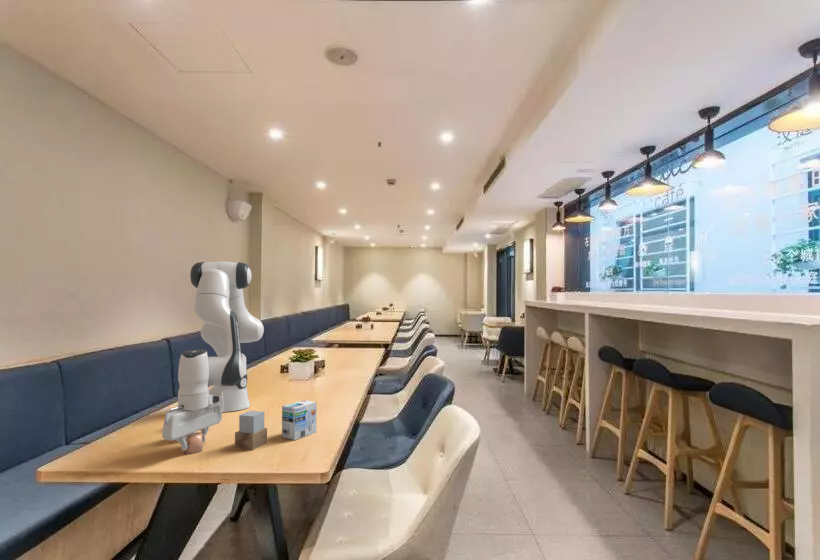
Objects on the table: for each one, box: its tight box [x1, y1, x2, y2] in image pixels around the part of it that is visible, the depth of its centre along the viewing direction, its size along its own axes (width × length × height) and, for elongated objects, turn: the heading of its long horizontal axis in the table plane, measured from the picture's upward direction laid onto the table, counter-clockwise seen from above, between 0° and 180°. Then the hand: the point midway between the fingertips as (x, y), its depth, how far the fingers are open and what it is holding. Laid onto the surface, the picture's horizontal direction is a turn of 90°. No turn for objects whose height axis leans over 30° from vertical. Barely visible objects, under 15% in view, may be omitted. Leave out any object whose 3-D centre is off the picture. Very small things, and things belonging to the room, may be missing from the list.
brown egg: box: [184, 431, 203, 455], centre depth 136 cm, size 5×5×5 cm
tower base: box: [234, 427, 268, 451], centre depth 141 cm, size 7×7×5 cm
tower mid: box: [238, 410, 265, 434], centre depth 141 cm, size 6×6×6 cm
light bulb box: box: [281, 399, 317, 441], centre depth 151 cm, size 11×7×11 cm, turn 148°
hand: (193, 445), depth 136 cm, fingers closed on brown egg, 5 cm apart
